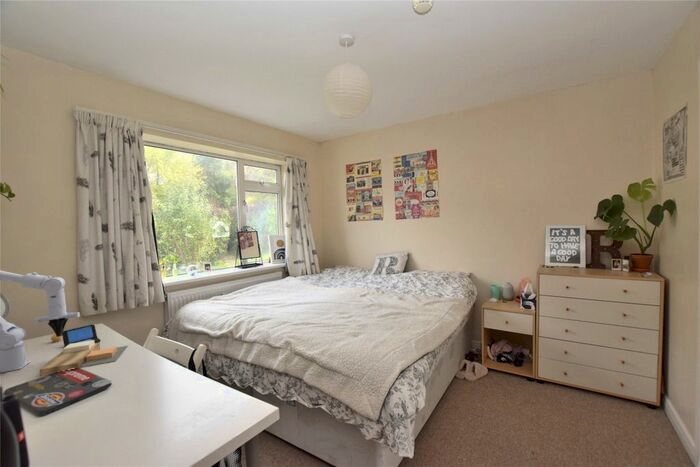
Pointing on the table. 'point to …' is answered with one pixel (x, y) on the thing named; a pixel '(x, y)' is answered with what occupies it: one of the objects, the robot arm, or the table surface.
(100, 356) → the orange rectangular block
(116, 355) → the mat
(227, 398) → the table surface
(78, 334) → the handheld game console
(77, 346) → the cream rectangular block
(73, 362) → the deck
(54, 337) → the figurine
